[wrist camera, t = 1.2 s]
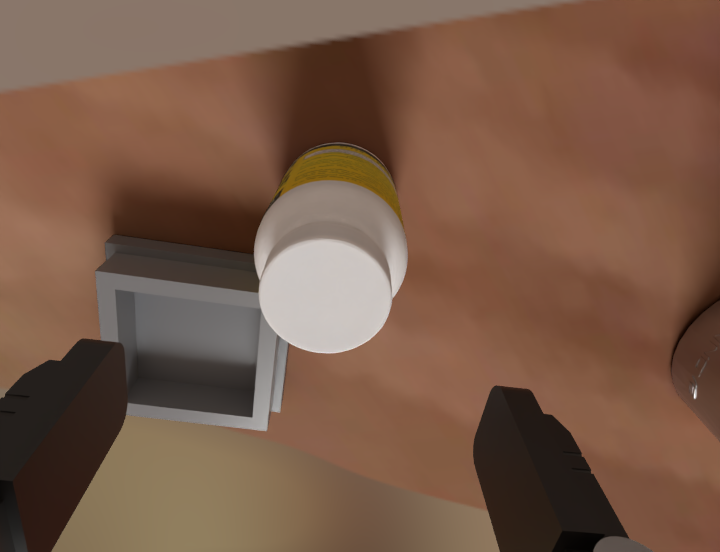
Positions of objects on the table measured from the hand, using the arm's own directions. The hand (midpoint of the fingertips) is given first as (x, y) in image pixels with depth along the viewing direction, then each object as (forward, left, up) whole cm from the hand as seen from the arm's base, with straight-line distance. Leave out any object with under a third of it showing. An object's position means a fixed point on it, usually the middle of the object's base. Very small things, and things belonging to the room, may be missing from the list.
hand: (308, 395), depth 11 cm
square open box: (+6, +8, -14) cm, 17 cm away
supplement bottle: (0, 0, -14) cm, 14 cm away
